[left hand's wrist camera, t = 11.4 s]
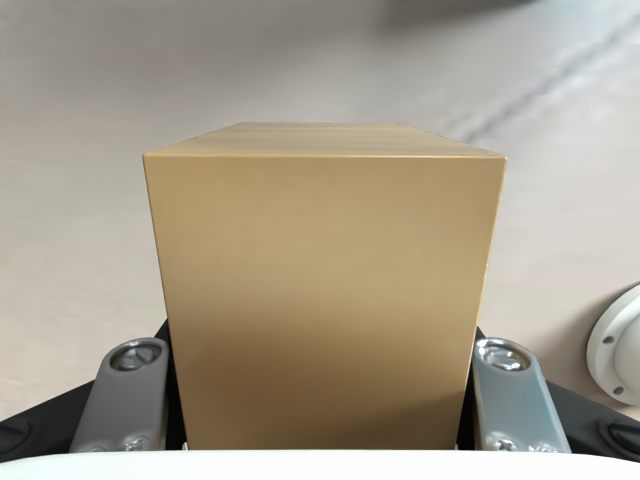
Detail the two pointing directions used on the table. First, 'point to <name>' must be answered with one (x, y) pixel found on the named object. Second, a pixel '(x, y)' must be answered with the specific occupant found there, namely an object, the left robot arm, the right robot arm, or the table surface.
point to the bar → (322, 282)
